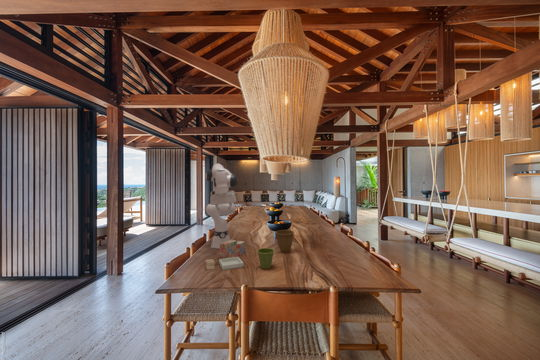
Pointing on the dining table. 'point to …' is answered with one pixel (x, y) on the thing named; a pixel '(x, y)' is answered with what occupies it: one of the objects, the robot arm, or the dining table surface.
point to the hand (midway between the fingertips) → (224, 210)
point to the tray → (231, 263)
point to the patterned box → (231, 249)
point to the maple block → (210, 264)
